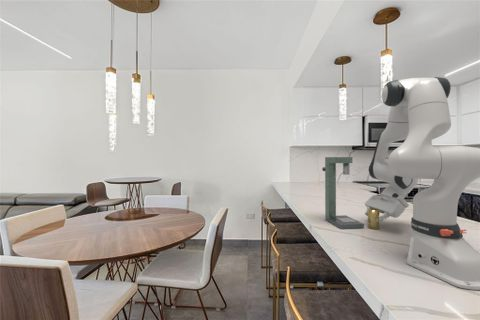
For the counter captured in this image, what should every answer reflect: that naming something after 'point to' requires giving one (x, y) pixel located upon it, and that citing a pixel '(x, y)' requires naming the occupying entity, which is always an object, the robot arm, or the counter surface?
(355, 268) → the counter surface
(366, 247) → the counter surface
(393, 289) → the counter surface
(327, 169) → the press
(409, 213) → the counter surface
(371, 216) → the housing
